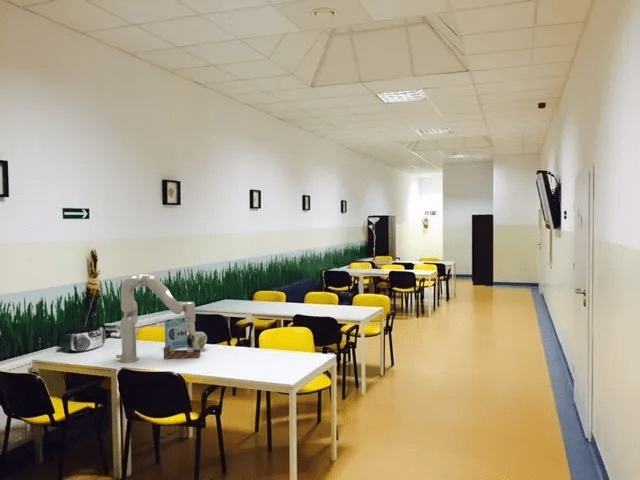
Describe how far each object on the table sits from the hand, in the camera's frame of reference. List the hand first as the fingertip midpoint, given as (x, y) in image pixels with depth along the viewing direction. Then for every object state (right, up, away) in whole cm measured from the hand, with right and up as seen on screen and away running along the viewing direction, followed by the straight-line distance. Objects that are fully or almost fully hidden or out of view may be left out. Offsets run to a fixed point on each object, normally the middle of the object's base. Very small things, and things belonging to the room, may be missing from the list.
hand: (190, 343), depth 390 cm
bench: (-6, -10, 0) cm, 11 cm away
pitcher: (+1, -9, +20) cm, 22 cm away
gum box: (-17, -9, +31) cm, 36 cm away
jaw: (0, -8, 0) cm, 8 cm away
